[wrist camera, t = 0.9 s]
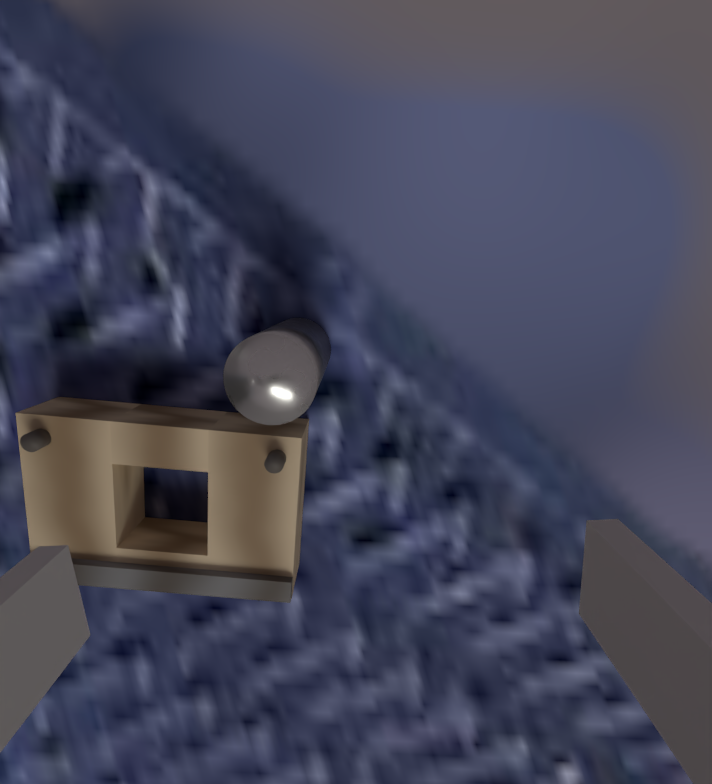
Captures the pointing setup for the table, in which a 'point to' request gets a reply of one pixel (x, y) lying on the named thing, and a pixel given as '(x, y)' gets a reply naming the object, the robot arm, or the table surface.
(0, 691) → the robot arm
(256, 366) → the grey metal peg
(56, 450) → the plate
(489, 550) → the table surface
